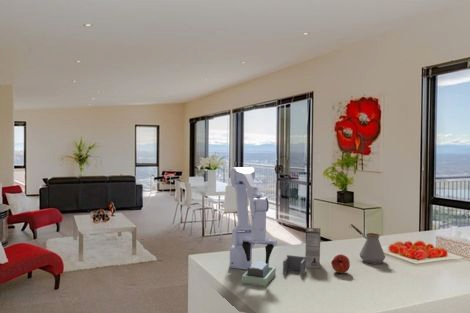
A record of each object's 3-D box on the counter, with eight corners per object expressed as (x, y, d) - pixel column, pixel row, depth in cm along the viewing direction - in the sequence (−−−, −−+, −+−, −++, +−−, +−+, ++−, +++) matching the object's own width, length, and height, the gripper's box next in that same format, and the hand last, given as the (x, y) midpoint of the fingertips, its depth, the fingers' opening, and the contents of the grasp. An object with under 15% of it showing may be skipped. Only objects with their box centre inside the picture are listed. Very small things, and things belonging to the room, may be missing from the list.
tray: (241, 283, 160) (241, 275, 160) (253, 271, 175) (253, 264, 175) (265, 286, 157) (265, 278, 157) (275, 274, 172) (275, 267, 171)
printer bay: (282, 273, 173) (283, 259, 172) (287, 268, 180) (287, 254, 180) (302, 276, 170) (302, 261, 170) (305, 270, 178) (305, 256, 177)
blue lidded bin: (247, 281, 161) (247, 266, 161) (255, 273, 172) (255, 259, 171) (262, 283, 159) (263, 268, 159) (269, 274, 169) (270, 261, 169)
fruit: (327, 272, 175) (327, 254, 175) (336, 268, 181) (337, 250, 181) (344, 277, 170) (344, 258, 170) (353, 272, 176) (353, 254, 176)
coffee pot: (390, 263, 191) (391, 231, 190) (371, 266, 186) (372, 233, 185) (358, 252, 210) (359, 223, 210) (340, 254, 205) (341, 224, 205)
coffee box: (305, 261, 192) (306, 227, 191) (319, 262, 190) (320, 228, 190) (304, 267, 183) (305, 231, 182) (319, 268, 181) (320, 232, 181)
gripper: (237, 228, 161) (237, 262, 162) (273, 231, 157) (273, 266, 157) (243, 224, 168) (242, 257, 169) (278, 228, 163) (277, 261, 164)
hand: (257, 261), depth 163 cm, fingers open, 7 cm apart
